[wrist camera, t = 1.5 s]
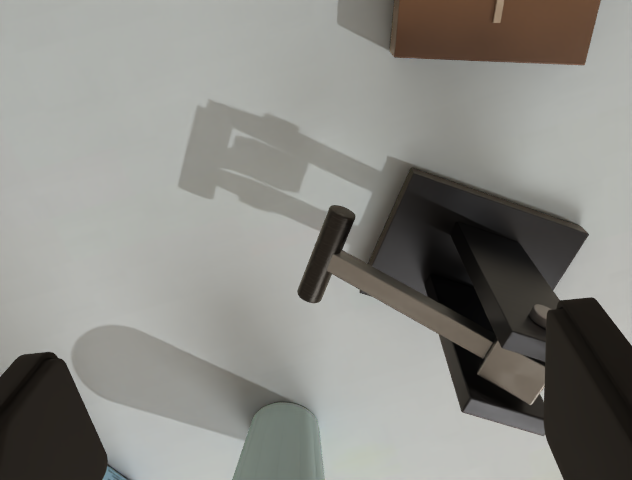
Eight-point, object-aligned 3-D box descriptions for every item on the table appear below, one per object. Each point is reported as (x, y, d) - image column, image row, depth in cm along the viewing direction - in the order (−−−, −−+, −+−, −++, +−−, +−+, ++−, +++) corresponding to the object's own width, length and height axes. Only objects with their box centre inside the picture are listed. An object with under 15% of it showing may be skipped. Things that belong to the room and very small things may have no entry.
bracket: (358, 283, 37) (370, 421, 26) (410, 166, 33) (451, 266, 22) (514, 333, 39) (591, 483, 27) (581, 226, 35) (704, 349, 23)
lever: (307, 282, 31) (288, 297, 29) (339, 200, 29) (321, 210, 27) (518, 404, 28) (514, 431, 26) (575, 322, 26) (574, 344, 24)
